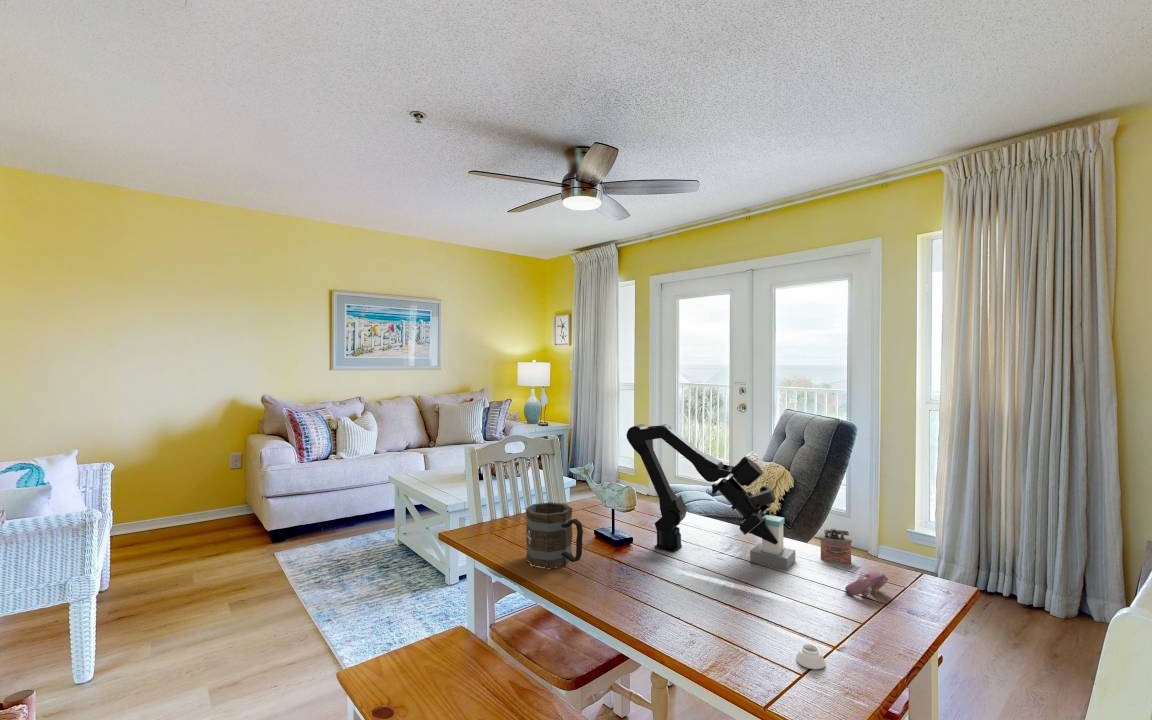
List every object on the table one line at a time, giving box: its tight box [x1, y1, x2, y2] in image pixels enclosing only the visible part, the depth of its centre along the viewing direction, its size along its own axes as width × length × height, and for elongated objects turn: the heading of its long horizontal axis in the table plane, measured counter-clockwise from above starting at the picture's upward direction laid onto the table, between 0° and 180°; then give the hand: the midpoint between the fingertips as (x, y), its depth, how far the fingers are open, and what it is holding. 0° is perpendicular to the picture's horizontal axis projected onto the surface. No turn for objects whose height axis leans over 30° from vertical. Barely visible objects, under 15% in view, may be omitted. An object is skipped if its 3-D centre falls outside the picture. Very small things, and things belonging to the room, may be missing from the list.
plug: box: [761, 514, 785, 555], centre depth 146 cm, size 5×5×12 cm
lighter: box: [819, 527, 853, 565], centre depth 147 cm, size 8×3×10 cm, turn 68°
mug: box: [525, 501, 584, 569], centre depth 149 cm, size 20×14×15 cm
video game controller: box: [844, 570, 889, 598], centre depth 128 cm, size 10×5×7 cm, turn 118°
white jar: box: [795, 643, 826, 670], centre depth 99 cm, size 5×3×5 cm
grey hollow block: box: [749, 542, 796, 571], centre depth 146 cm, size 10×8×4 cm
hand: (778, 540), depth 146 cm, fingers closed on plug, 5 cm apart
